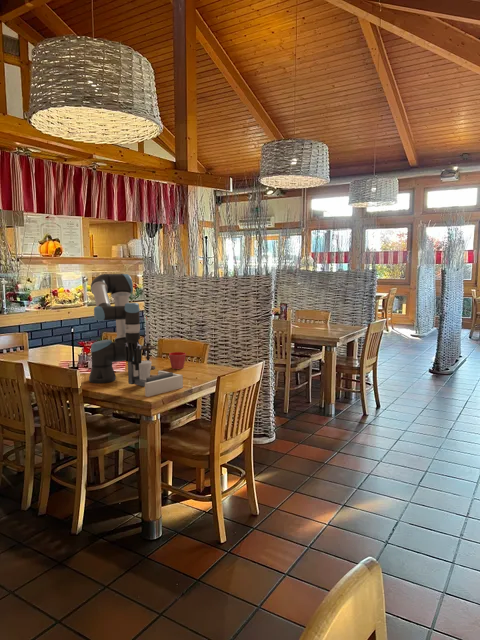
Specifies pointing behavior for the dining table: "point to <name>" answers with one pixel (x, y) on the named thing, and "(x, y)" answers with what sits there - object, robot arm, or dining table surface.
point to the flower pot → (177, 360)
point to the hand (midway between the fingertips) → (133, 375)
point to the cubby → (163, 384)
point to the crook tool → (140, 382)
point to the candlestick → (148, 343)
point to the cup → (144, 369)
